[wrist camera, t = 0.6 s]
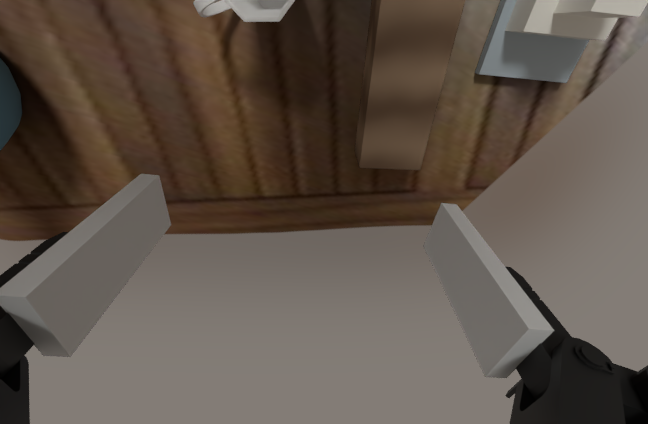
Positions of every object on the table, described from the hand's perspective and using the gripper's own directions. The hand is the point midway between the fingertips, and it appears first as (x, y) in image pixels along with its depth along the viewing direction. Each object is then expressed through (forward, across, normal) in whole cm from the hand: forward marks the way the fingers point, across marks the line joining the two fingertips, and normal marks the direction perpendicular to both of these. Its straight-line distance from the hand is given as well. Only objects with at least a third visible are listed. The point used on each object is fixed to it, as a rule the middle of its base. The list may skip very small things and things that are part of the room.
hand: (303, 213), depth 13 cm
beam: (+23, +8, +8) cm, 26 cm away
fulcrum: (+23, +22, +12) cm, 34 cm away
